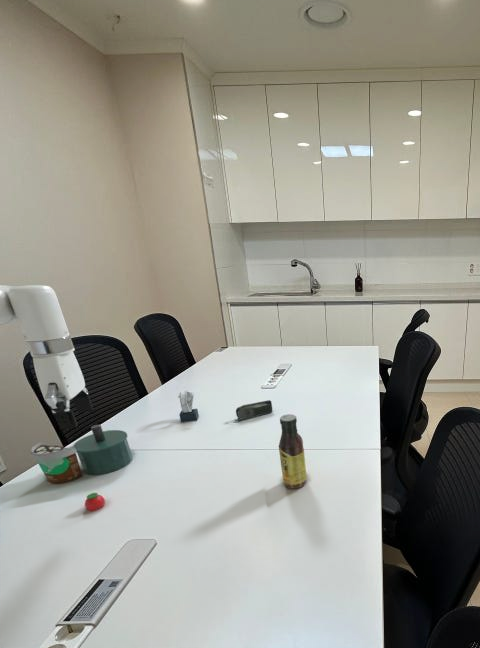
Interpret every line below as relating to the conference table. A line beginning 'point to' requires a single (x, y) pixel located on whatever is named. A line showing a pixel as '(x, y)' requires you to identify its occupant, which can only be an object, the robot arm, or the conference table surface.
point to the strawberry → (94, 502)
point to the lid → (100, 440)
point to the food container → (57, 463)
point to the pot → (106, 459)
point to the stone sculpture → (187, 407)
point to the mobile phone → (253, 410)
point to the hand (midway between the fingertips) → (77, 418)
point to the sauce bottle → (291, 453)
